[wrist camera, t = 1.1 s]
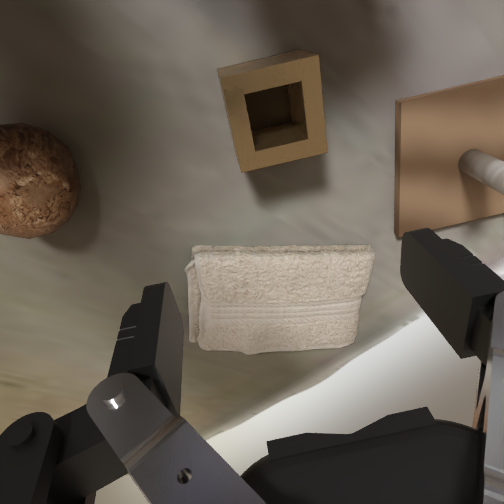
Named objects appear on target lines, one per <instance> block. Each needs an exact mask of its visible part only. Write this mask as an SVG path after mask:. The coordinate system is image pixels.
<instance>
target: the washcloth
mask: <svg viewBox="0 0 504 504" xmlns="http://www.w3.org/2000/svg"><path fill="white" fill-rule="evenodd" d="M374 259H375V252H374V249H373V248H372V247H371V245H370V244H369V245H368V246H367V245H357V246H356V245H348V244H347V245H346V246H344V245H343V246H341V245H340V246H339V245H330V246H325V245H324V246H318V245H316V246H313V245H312V246H310V245H309V246H307V245H302V246H296V245H289V246H272V247H267V246H266V247H262V246H256V247H242V246H237V247H236V246H203V245H198V246H193V247H192V257H191V262H190V263H189V264H188V265H187V266H186V268H185V269H184V271H185V273H186V275H187V280H188V310H189V342H193V343H196V342H197V343H199V346H200V348H201V349H203V350H206V351H211V350H216V351H220V350H223V351H238V352H243V353H244V354H246V355H254V354H258V353H263V352H274V351H297V350H298V351H303V350H310V349H324V348H326V349H328V348H342V347H345V346H348V345H350V344H352V343H354V341H355V338H356V335H357V331H358V324H359V315H360V314H359V309H360V306H361V301H362V295H363V294H365V293H366V289H367V285H368V282H369V281H370V275H371V273H372V267H373V263H374Z"/></svg>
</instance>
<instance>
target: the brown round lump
mask: <svg viewBox="0 0 504 504" xmlns="http://www.w3.org/2000/svg"><path fill="white" fill-rule="evenodd" d="M79 193H80V182H79V178H78V174H77V169H76V166H75V163H74V161H73V159H72V157H71V154H70V152H69V150H68V147H67V146H65V145H64V144H63V143H62V142H61V141H59V140H58V139H57V138H56V137H54V136H53V135H52V134H51V133H49V132H48V131H45V130H42V129H39V128H36V127H33V126H30V125H27V124H24V123H16V124H6V125H0V233H1V234H4V235H9V236H15V237H21V238H27V239H31V238H34V237H38V236H42V235H46V234H49V233H53V232H54V231H56V230H57V229H58V228H59V227H61V226H62V225H63V224H65V223H66V222H67V221H68V220H69V219H70V217H71V215H72V214H73V212H74V210H75V209H76V207H77V205H78V200H79Z"/></svg>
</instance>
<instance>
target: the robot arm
mask: <svg viewBox="0 0 504 504" xmlns="http://www.w3.org/2000/svg"><path fill="white" fill-rule="evenodd" d="M400 273H401V278H402V281H403V283H404V285H405V287H406V289H407V290H408V291H409V292H410V294H411V295H412V296H413V298H414V299H415V300H416V301H417V303H418V304H419V305H420V307H421V308H422V309H423V310H424V312H425V313H426V314H427V316H428V317H429V318H430V319H431V321H432V322H433V323H434V324H435V326H436V327H437V328H438V330H439V331H440V332H441V334H442V335H443V336H444V337H445V339H446V340H447V341H448V343H449V344H450V345H451V346H452V348H453V349H454V350H455V352H456V353H457V354H458V355H459V357H460V358H461V359H462V358H467V357H471V356H477V357H478V358H479V359H480V360H481V362H480V366H479V373H478V382H477V391H476V401H475V409H474V418H473V425H472V427H469V426H466V425H463V424H460V423H456V422H452V421H446V420H437V419H434V418H433V416H432V414H431V413H430V411H429V409H428V407H423V408H418V409H414V410H409V411H405V412H400V413H395V414H391V415H387V416H385V417H383V418H382V419H379V420H377V421H376V422H374V423H372V424H370V425H368V426H366V427H364V428H362V429H360V430H358V431H356V432H354V433H352V434H323V433H303V434H299V435H294V436H290V437H285V438H280V439H276V440H272V441H267V446H268V453H269V454H268V455H267V456H265V457H263V458H261V459H260V460H259V461H257V462H255V463H254V464H253V465H251V466H250V467H249V468H248V469H247V470H246V471H245V472H244V473H243V474H242V475H241V476H239V475H238V474H237V473H236V472H235V471H234V470H233V469H232V468H231V466H230V465H229V464H228V463H227V462H226V461H225V460H224V459H223V458H222V457H221V456H220V455H219V454H218V453H217V452H216V451H215V450H214V449H213V448H212V447H211V446H210V445H209V444H208V443H207V442H206V441H205V440H204V439H203V438H202V437H201V436H200V435H199V434H198V432H197V431H196V430H195V429H194V428H193V427H192V426H191V425H190V424H189V423H188V422H187V421H186V420H185V419H184V418H183V417H181V416H180V402H181V380H182V359H183V338H184V330H183V323H182V319H181V315H180V313H179V310H178V307H177V304H176V302H175V299H174V296H173V293H172V291H171V288H170V286H169V284H168V282H164V283H160V284H155V285H150V286H145V287H144V290H143V295H142V300H141V303H137V304H133V305H131V306H130V308H129V309H128V310H127V312H126V313H125V314H124V316H123V318H122V322H121V326H120V331H119V333H118V337H117V340H118V341H116V345H115V349H114V353H113V357H112V361H111V365H110V369H109V372H108V376H107V378H106V379H104V380H103V381H101V382H100V383H99V384H98V385H97V386H96V387H95V388H94V389H93V390H92V392H91V393H90V395H89V397H88V399H87V404H85V405H84V406H82V407H80V408H78V409H76V410H74V411H72V412H70V413H68V414H66V415H64V416H62V417H60V418H58V419H56V420H53V419H52V417H51V416H50V415H49V414H47V413H44V412H35V413H31V414H28V415H26V416H23V417H21V418H20V419H18V420H16V421H15V422H14V423H12V424H11V425H10V426H9V427H8V428H7V429H6V430H5V431H4V432H3V433H2V434H1V435H0V504H94V502H95V496H96V491H97V490H99V489H101V488H103V487H104V486H106V485H108V484H110V483H111V482H113V481H115V480H117V479H118V478H120V477H122V476H124V475H126V474H127V473H129V475H130V476H131V478H132V479H133V481H134V482H135V484H136V485H137V486H138V488H139V489H140V491H141V492H142V494H143V495H144V497H145V498H146V499H147V501H148V502H149V504H504V280H502V279H501V278H500V277H499V276H498V275H497V274H496V273H494V272H493V271H492V270H491V269H490V268H488V267H487V266H486V265H485V264H482V262H481V261H480V260H479V259H478V258H477V257H476V256H473V254H472V253H471V252H470V251H468V250H467V249H466V248H465V247H464V246H463V245H461V244H458V243H456V242H454V241H451V240H449V239H441V238H440V237H439V236H438V235H437V234H435V233H434V232H433V231H432V230H431V229H430V228H422V229H418V230H413V231H408V232H405V233H404V234H403V236H402V247H401V266H400Z"/></svg>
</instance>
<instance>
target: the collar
mask: <svg viewBox="0 0 504 504" xmlns="http://www.w3.org/2000/svg"><path fill="white" fill-rule="evenodd" d="M217 72H218V77H219V81H220V86H221V90H222V94H223V99H224V103H225V108H226V112H227V117H228V121H229V126H230V130H231V135H232V139H233V143H234V148H235V152H236V156H237V159H238V163H239V166H240V170H241V173H242V172H246V171H251V170H255V169H259V168H264V167H268V166H272V165H276V164H281V163H285V162H289V161H293V160H298V159H302V158H306V157H311V156H315V155H319V154H323V153H328V152H327V141H326V130H325V118H324V107H323V96H322V85H321V74H320V62H319V55H318V54H314V53H311V52H307V51H303V50H295V51H291V52H287V53H282V54H278V55H274V56H270V57H265V58H261V59H257V60H253V61H248V62H244V63H240V64H236V65H231V66H227V67H223V68H218V69H217ZM282 85H287V86H288V94H289V101H290V109H291V116H292V122H290V123H286V124H282V125H277V126H273V127H269V128H265V129H260V130H256V131H252V132H251V127H250V122H249V117H248V112H247V107H246V102H245V97H244V94H248V93H253V92H257V91H261V90H265V89H270V88H274V87H278V86H282Z"/></svg>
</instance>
